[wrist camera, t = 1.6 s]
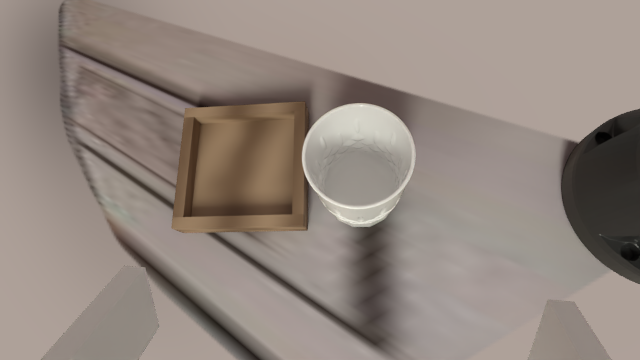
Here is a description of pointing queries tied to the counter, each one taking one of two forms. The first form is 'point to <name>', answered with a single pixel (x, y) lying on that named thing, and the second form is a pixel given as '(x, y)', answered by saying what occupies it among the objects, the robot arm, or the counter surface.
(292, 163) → the walnut coaster tray
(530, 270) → the counter surface
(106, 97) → the counter surface
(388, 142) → the white cup
